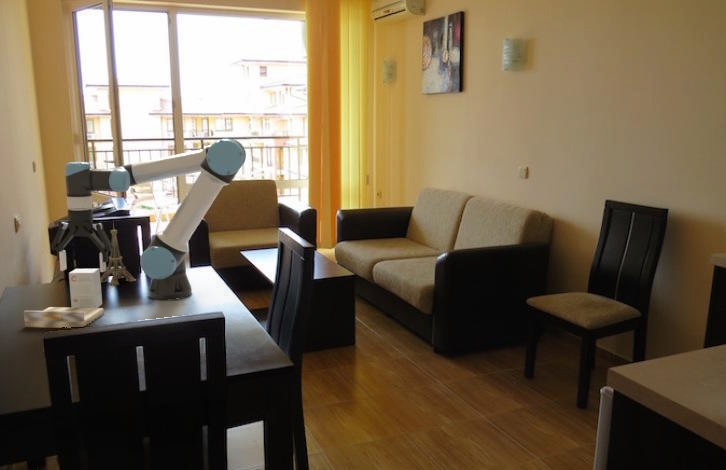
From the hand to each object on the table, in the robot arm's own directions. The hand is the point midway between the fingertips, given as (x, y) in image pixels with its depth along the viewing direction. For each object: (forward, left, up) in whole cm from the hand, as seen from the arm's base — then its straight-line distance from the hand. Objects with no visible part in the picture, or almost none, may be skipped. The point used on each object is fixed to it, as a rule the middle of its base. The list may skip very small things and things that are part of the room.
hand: (83, 270), depth 195 cm
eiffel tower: (+5, -35, -13) cm, 38 cm away
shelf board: (0, +14, -13) cm, 19 cm away
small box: (0, 0, -13) cm, 13 cm away
